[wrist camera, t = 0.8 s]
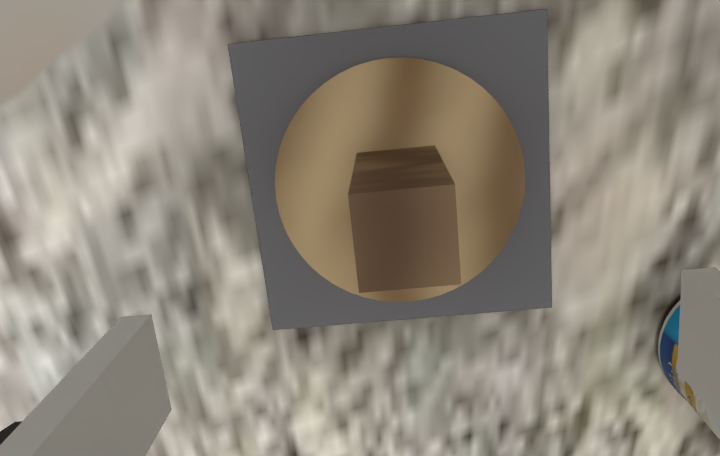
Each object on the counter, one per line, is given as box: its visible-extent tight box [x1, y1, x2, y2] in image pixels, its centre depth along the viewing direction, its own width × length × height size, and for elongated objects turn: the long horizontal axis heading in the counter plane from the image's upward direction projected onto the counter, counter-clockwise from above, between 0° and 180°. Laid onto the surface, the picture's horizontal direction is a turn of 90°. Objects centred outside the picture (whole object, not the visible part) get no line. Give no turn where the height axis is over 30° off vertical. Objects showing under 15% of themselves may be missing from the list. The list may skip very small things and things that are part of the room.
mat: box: [228, 9, 552, 330], centre depth 33 cm, size 16×16×1 cm
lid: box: [275, 57, 525, 302], centre depth 28 cm, size 13×13×10 cm
